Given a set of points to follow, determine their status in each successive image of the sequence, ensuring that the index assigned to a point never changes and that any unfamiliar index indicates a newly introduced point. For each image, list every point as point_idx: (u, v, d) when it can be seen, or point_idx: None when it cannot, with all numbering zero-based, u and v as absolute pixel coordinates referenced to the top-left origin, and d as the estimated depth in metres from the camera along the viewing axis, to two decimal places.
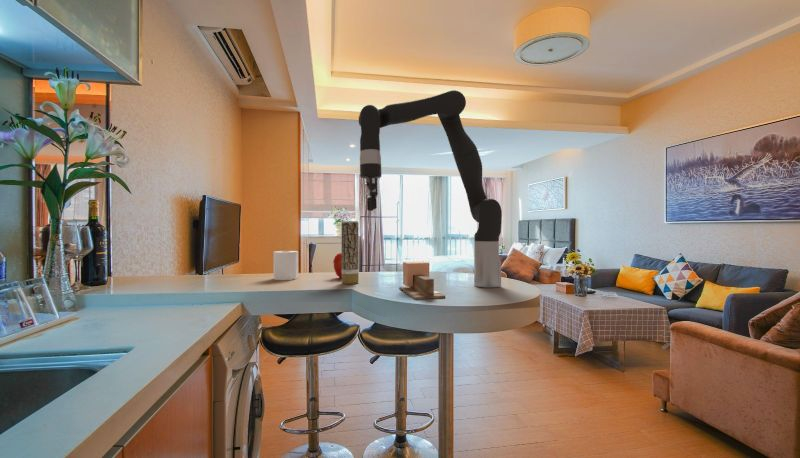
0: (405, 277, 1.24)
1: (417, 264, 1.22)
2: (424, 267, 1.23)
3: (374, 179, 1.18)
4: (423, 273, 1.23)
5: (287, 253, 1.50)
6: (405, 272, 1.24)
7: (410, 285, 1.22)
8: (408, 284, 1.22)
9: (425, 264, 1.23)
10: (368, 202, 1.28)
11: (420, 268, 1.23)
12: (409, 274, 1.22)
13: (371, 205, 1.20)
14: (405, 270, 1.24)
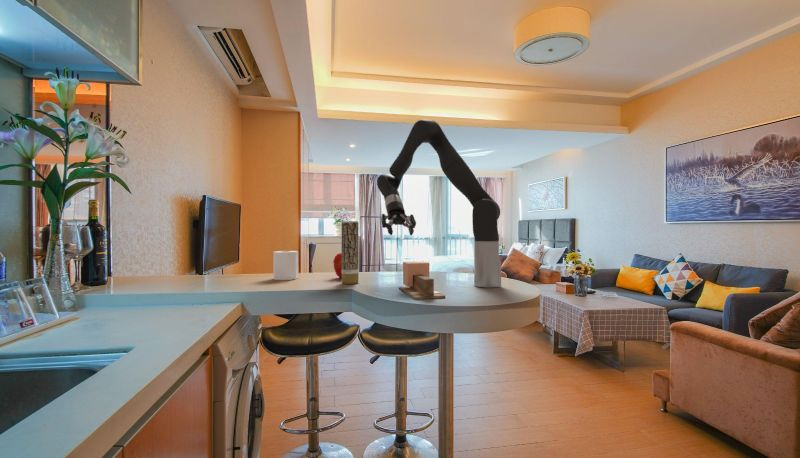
0: (405, 277, 1.24)
1: (417, 264, 1.22)
2: (424, 267, 1.23)
3: None
4: (423, 273, 1.23)
5: (287, 253, 1.51)
6: (405, 272, 1.24)
7: (410, 285, 1.22)
8: (408, 284, 1.22)
9: (425, 264, 1.23)
10: (408, 229, 1.47)
11: (420, 268, 1.23)
12: (409, 274, 1.22)
13: None
14: (405, 270, 1.24)
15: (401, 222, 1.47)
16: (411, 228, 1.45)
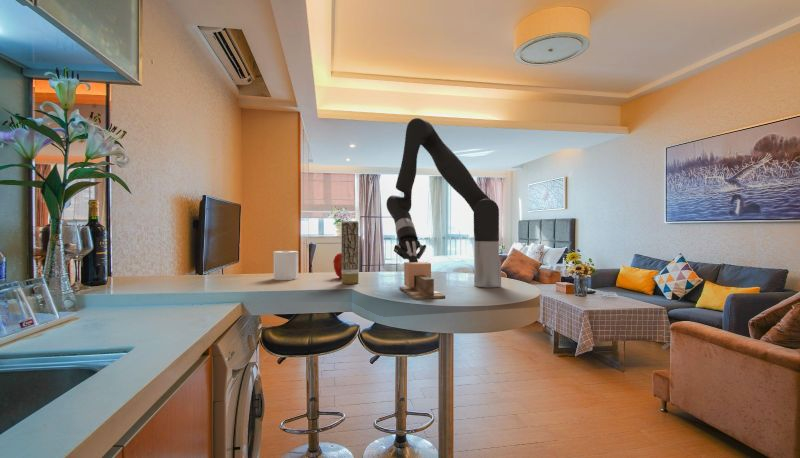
0: (406, 278, 1.22)
1: (418, 265, 1.21)
2: (426, 267, 1.21)
3: (395, 248, 1.31)
4: (425, 274, 1.21)
5: (287, 253, 1.50)
6: (406, 273, 1.22)
7: (411, 286, 1.20)
8: (409, 285, 1.20)
9: (427, 265, 1.21)
10: None
11: (421, 269, 1.21)
12: (410, 275, 1.20)
13: None
14: (407, 270, 1.22)
15: None
16: (415, 260, 1.28)
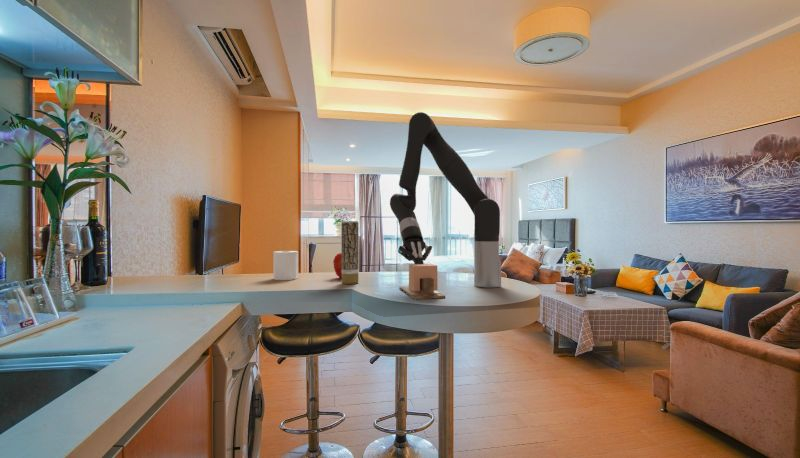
0: (411, 281, 1.15)
1: (424, 267, 1.14)
2: (432, 270, 1.14)
3: (399, 249, 1.24)
4: (431, 276, 1.14)
5: (287, 253, 1.50)
6: (411, 275, 1.15)
7: (417, 290, 1.13)
8: (415, 288, 1.13)
9: (433, 267, 1.15)
10: None
11: (427, 271, 1.14)
12: (416, 278, 1.13)
13: None
14: (412, 273, 1.15)
15: None
16: (421, 261, 1.21)
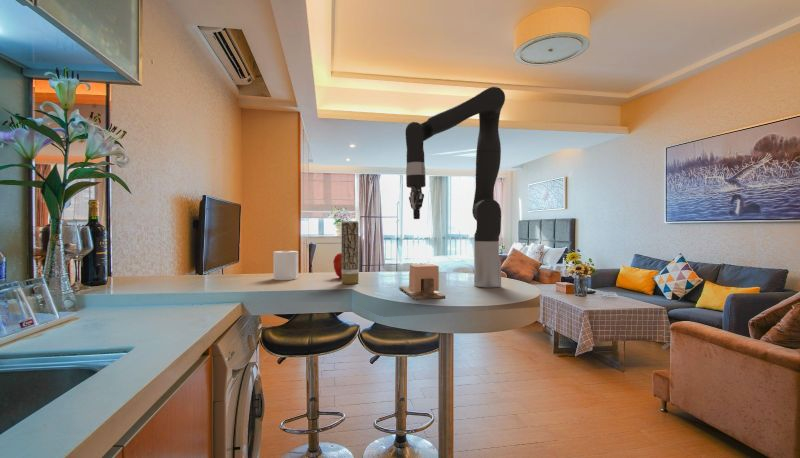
0: (412, 281, 1.14)
1: (425, 267, 1.13)
2: (433, 270, 1.13)
3: (421, 196, 1.32)
4: (432, 277, 1.13)
5: (287, 253, 1.51)
6: (412, 276, 1.14)
7: (418, 290, 1.12)
8: (416, 289, 1.12)
9: (434, 267, 1.13)
10: None
11: (429, 272, 1.13)
12: (417, 278, 1.12)
13: (415, 216, 1.37)
14: (413, 273, 1.14)
15: None
16: None
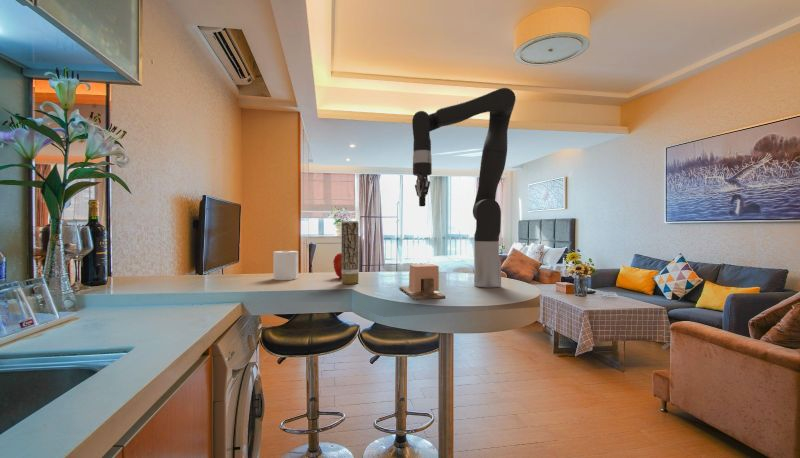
0: (412, 281, 1.14)
1: (425, 267, 1.13)
2: (433, 270, 1.13)
3: (427, 183, 1.35)
4: (432, 277, 1.13)
5: (287, 253, 1.50)
6: (412, 276, 1.14)
7: (418, 290, 1.12)
8: (416, 289, 1.12)
9: (434, 267, 1.13)
10: None
11: (429, 272, 1.13)
12: (417, 278, 1.12)
13: (421, 203, 1.40)
14: (413, 273, 1.14)
15: None
16: None
